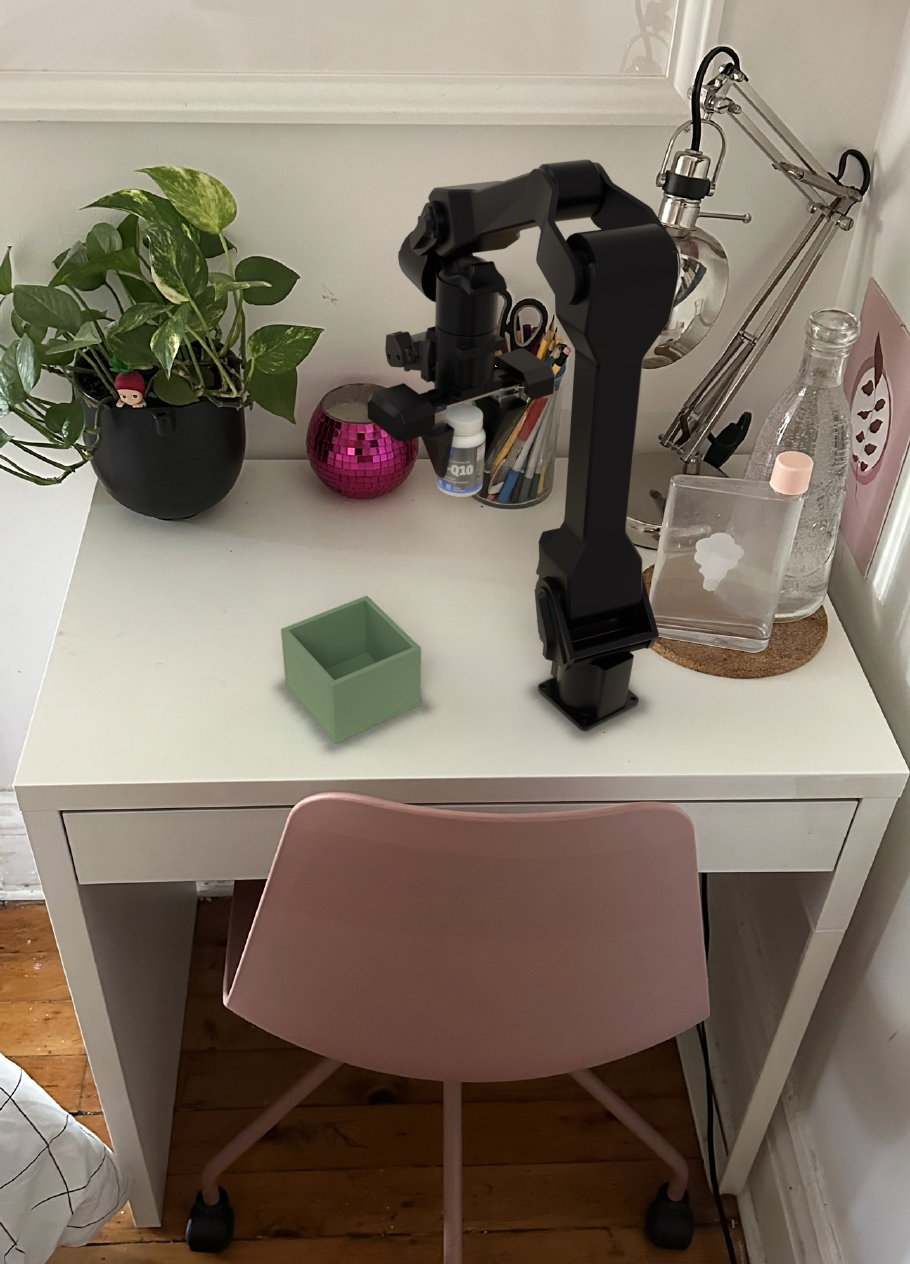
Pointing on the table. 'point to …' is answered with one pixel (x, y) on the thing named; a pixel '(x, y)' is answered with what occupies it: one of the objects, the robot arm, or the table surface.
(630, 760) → the table surface
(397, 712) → the waste bin
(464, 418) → the pill bottle
